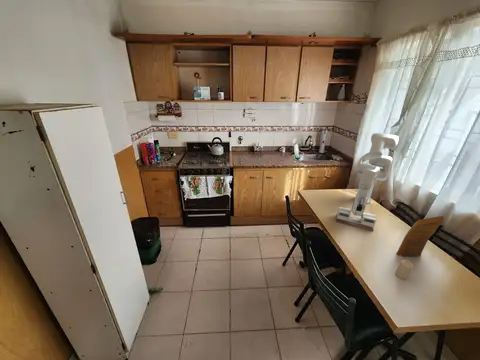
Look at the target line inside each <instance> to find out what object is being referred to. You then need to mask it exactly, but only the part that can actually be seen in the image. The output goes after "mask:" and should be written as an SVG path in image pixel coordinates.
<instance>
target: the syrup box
mask: <svg viewBox="0 0 480 360" xmlns="http://www.w3.org/2000/svg"><path fill="white" fill-rule="evenodd" d="M356 198H357V193H356V195H355V196H354V200H353V204H352V206H351V214H353V216H358V217H361V216H362V215H363V212H365V208H366V205H367V204H366V203H367V200H368V199H367V197H366V200H365V203H363V207H362V210H361V212H360V211H356V208H357V205H358V203H359V202H357V201H356ZM360 202H361V201H360ZM359 204H360V203H359Z"/></svg>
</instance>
